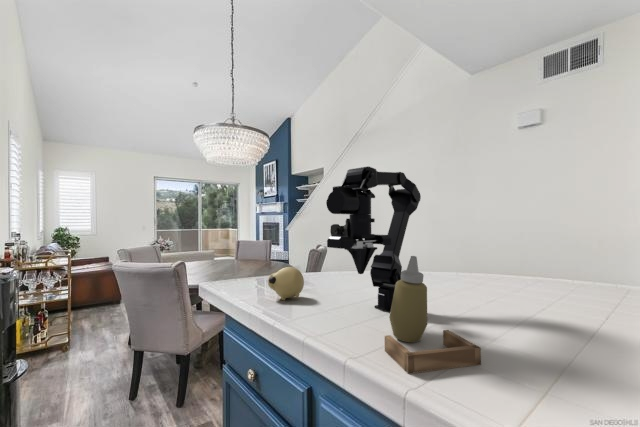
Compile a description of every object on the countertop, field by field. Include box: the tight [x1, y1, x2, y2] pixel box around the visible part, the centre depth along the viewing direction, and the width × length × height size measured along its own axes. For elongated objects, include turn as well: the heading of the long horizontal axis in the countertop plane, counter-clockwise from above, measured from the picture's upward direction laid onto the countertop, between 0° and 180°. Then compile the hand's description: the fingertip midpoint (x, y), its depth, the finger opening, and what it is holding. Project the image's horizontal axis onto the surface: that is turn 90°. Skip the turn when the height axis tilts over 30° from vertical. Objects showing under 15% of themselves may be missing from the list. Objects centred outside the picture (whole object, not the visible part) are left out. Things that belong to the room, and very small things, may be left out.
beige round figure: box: [267, 266, 305, 301], centre depth 101 cm, size 10×12×11 cm
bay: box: [384, 329, 482, 374], centre depth 57 cm, size 9×14×3 cm, turn 103°
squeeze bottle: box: [388, 255, 428, 343], centre depth 66 cm, size 8×8×18 cm
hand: (360, 273), depth 79 cm, fingers closed
